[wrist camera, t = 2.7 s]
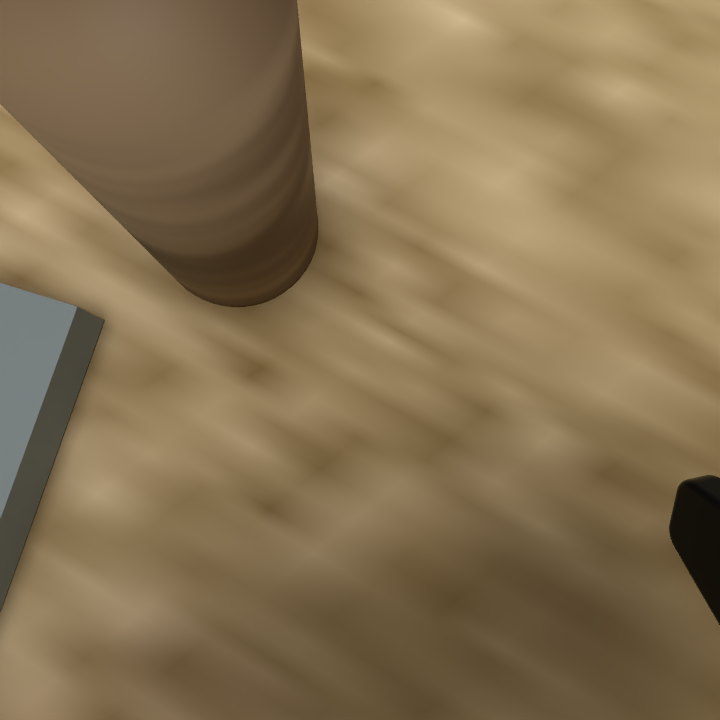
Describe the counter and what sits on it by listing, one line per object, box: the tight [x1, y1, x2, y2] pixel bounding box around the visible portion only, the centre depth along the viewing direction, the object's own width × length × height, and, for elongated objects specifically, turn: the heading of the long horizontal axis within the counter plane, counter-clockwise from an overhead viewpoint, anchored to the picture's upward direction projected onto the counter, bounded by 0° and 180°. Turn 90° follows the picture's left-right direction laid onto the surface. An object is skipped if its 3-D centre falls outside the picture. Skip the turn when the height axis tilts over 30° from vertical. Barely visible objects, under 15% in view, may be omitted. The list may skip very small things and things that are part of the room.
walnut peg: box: [0, 0, 318, 307], centre depth 16 cm, size 5×5×12 cm
